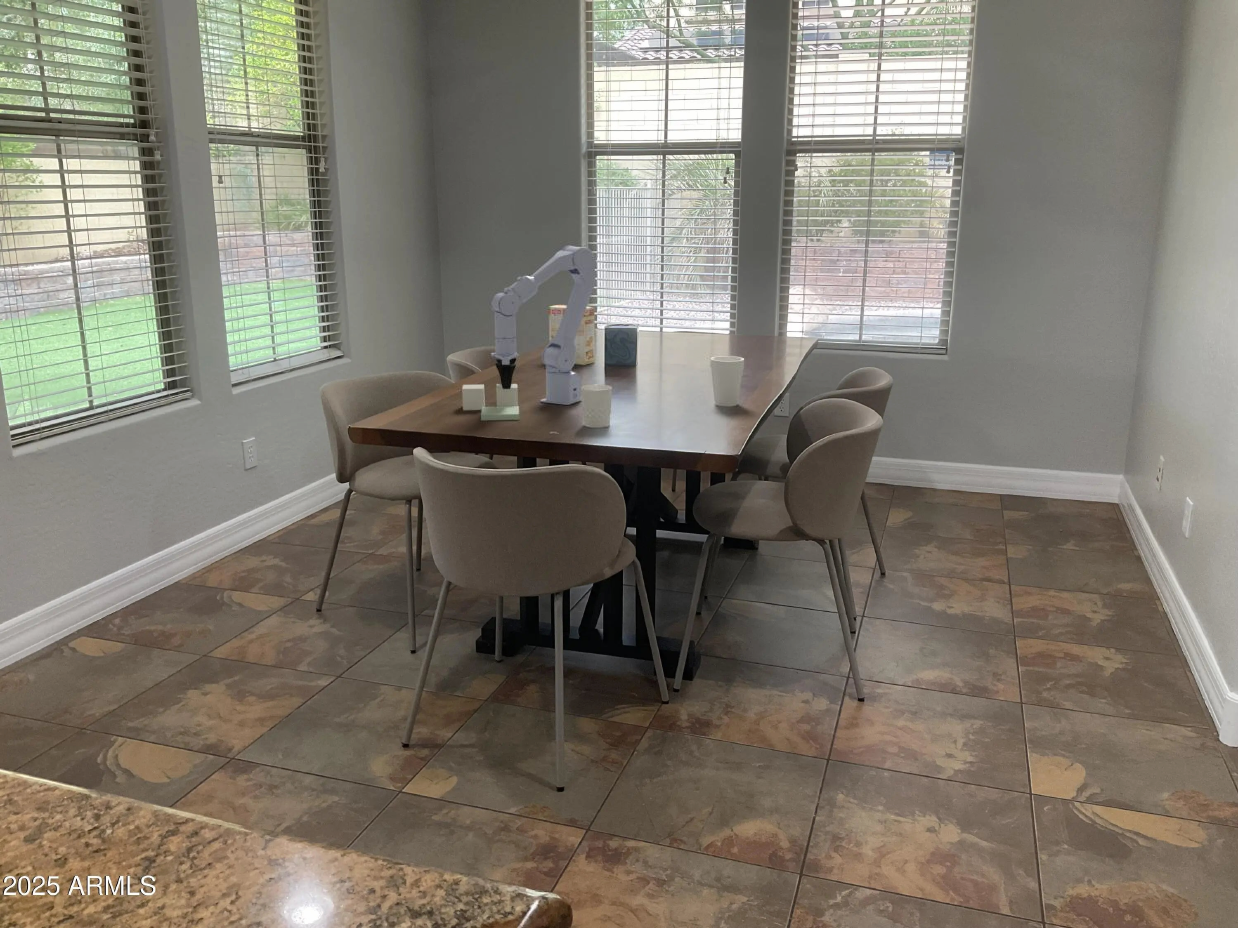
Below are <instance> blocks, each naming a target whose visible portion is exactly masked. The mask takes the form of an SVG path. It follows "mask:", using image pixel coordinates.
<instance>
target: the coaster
mask: <svg viewBox="0 0 1238 928" xmlns="http://www.w3.org/2000/svg"><path fill="white" fill-rule="evenodd" d="M480 411H481V413H480V421H517V420H518V421H519V420H520V406H519V405H518V406H502V407H497V406H485V407H482V410H480Z"/></svg>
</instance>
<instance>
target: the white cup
mask: <svg viewBox="0 0 1238 928" xmlns="http://www.w3.org/2000/svg"><path fill="white" fill-rule="evenodd" d="M612 391H613V387H612V386H611V385H607V384H597V383H595V384H586V385H583V386H580V395H581V399H582V400H581V409H582V416H583V417H582V418H583V426H584V427H587V428H590V429H591V428H592V429H602V428H607V427H609V426H610V425H611V414H612V413H611V412H612V393H613V392H612Z"/></svg>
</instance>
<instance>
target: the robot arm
mask: <svg viewBox="0 0 1238 928" xmlns="http://www.w3.org/2000/svg"><path fill="white" fill-rule="evenodd" d="M596 264H597V259H596V256H595V254H594V252H593V251H592V250H591V249H590V248H589V247H585V246H583V247H582V246H581V247H580V246H574V245H565V246H564V247H563V248H562V249H561V250H559V251H557V252H556V253H555V255H553V256H552V257H551V258H550V259H549V260H548V261H546V262H545V263H544V264H543V265H542V266H541V267H539V268H538V269H537V270H536V271H535V272H534V273H533V274H531V275H530V276H529V275H523V276H518V277H516V280H517V281H515V282H514V283H512V285H510V286H509V287H505V288H503V292H498V293H496V294H495V295H494V296H493V298H492V299H491V303H490V305H489V306H490V308H491V311H493V312H494V339H495V340H494V343H495V345H494V346H495V347H494V348H495V351H494V352H491V353H490V354H491V357H495V358H496V359H495V360H496V363H495V367H496V370H497V371H498V374H499V378H500V384H502V388H503V389H510V388H511V384H513V383H512V381H513V375H514V372H515V369H516V367H517V363H516V361H517V357H518V352H517V331H516V330H517V329H516V328H517V327H516V326H517V324H516V321H517V320H516V314H518V311H519V309H520V307H521V306H522V305H523V304H524V303H525V302H527V301H528V300H529V299H530V298H532V297H533V296H534V295H536V294H537V293H538V289H539V286H540V285H542V284H543V283H545V282H546V281H547V280H549V279H550V278H552V277H553V276H555V275H556V274H558V273H560V272H561V271H567V272H569V273H570V275H571V277H572V280H573V281H574V285H573V286H572V287H573V288H572V290H571V293H570V296H569V299H568V302H567V304H566V305H567V307H566V309H565V312H564V315H563V318H562V320H561V323H560V326H559V329H558V331H557V334H556V335H555V336H554V337H553V338H552V339H551V340H550V342H548V345H546V347H545V348H544V349H543V351H542V353H541V360H542V362H543V364H544V365H545V385H546V387H545V388H546V390H545V391H546V395H545V396H546V397H545V398H542V399H540V402H542V403H549V404H557V405H565V406H568V405H572V404H575V403H578V402H580V401H581V402H582V395H581V377H580V375H579V374H578V372H574V371H572V369H573V367H574V366H575V365H576V364H575V352H576V345H575V342H574V340H575V338H576V335H577V332H578V329H579V327H580V324H581V321H582V318H583V316H584V313H585V310H586V307H588V305H589V302H590V298H591V297H592V293H593V290H594V288H595V286H596V269H595V268H596V267H595V266H596Z"/></svg>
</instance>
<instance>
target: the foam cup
mask: <svg viewBox="0 0 1238 928" xmlns="http://www.w3.org/2000/svg"><path fill="white" fill-rule="evenodd" d="M709 364H710V365H709V367H710V370H711V378H712V389H713V400H714V404H715V405H716V406H719V407H734V406H738V401H739V395H740V390H741V385H742V377H743V372H744V368H745V358H743V357H741V356H735V355H734V356H733V355H731V356H730V355H721V356H720V355H718V356H717V355H716V356H712V357H711V358H710V363H709Z"/></svg>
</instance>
